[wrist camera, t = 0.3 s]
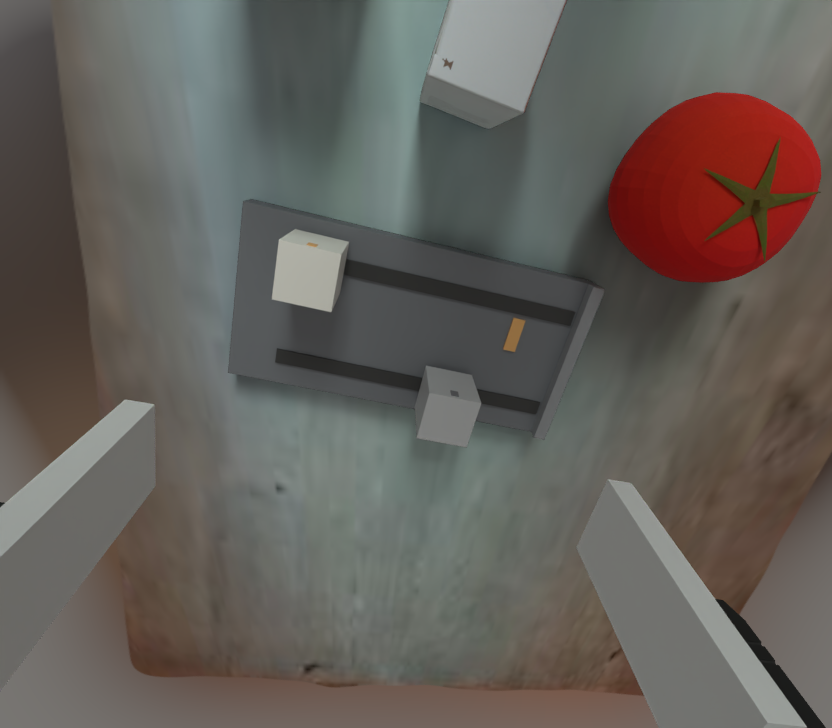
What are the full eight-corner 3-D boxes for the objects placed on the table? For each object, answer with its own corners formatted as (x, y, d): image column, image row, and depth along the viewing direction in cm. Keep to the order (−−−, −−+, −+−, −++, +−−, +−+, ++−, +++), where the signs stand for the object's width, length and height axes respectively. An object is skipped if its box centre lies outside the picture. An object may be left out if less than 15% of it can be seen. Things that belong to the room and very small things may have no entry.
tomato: (676, 288, 39) (766, 330, 30) (559, 218, 37) (616, 239, 27) (774, 161, 36) (913, 160, 26) (650, 72, 33) (754, 36, 23)
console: (251, 199, 35) (238, 202, 33) (590, 280, 39) (605, 290, 36) (235, 363, 41) (223, 377, 38) (535, 422, 44) (544, 439, 41)
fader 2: (426, 364, 39) (429, 392, 34) (472, 374, 39) (481, 402, 35) (414, 407, 40) (416, 438, 36) (459, 415, 41) (466, 448, 36)
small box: (488, 131, 34) (523, 119, 25) (417, 102, 33) (423, 78, 24) (535, 5, 31) (595, -65, 22) (457, -30, 30) (484, -120, 21)
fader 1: (295, 228, 34) (279, 238, 29) (349, 241, 35) (341, 253, 30) (288, 282, 36) (271, 299, 31) (339, 293, 36) (331, 312, 32)
